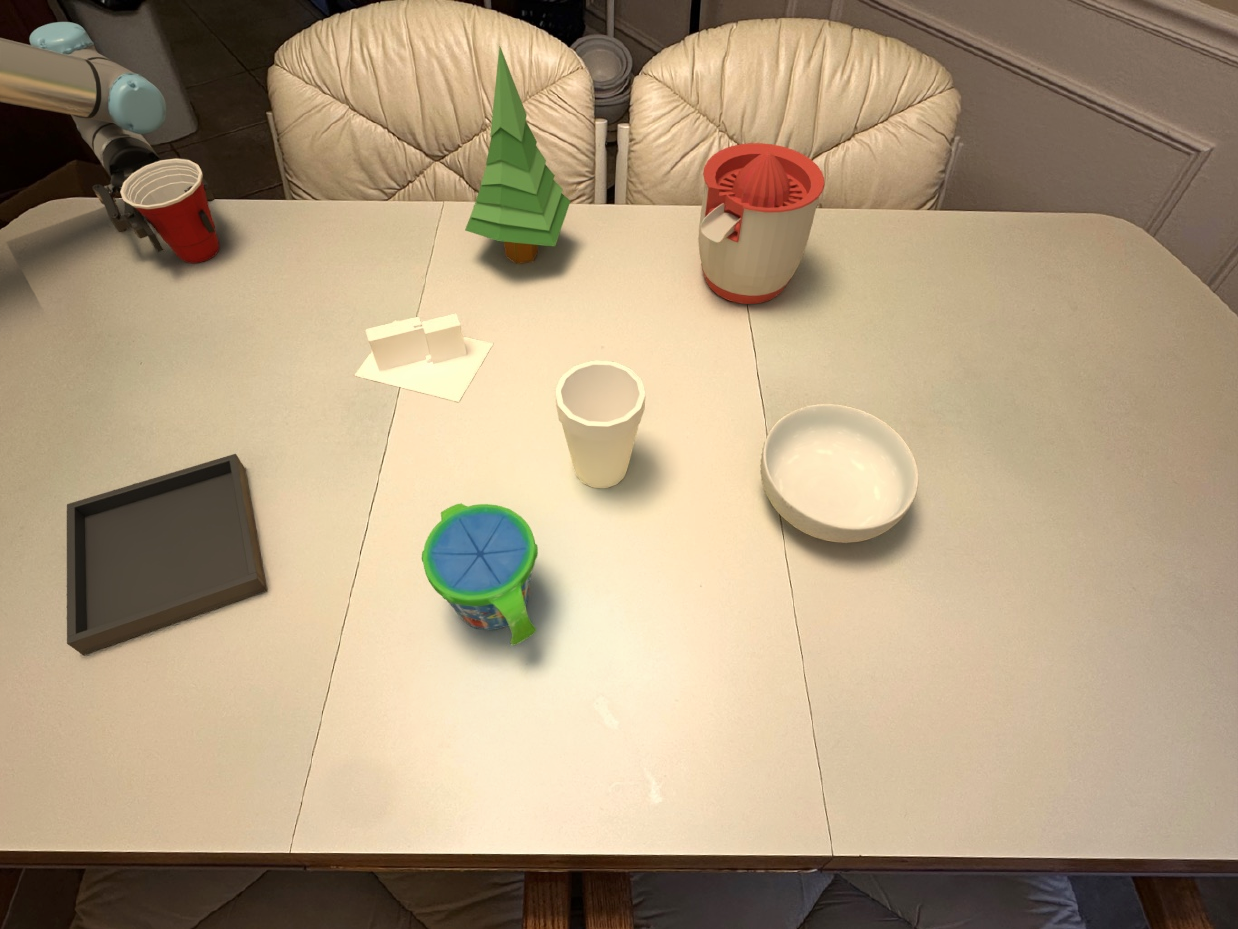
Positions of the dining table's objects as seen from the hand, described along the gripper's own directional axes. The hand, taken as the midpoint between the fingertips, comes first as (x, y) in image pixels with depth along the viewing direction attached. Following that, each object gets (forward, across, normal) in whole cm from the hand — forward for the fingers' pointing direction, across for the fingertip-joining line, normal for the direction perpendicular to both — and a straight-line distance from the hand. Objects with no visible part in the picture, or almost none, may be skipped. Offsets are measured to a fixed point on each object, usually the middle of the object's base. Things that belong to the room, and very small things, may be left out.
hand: (182, 233), depth 103 cm
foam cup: (+64, -24, -7) cm, 69 cm away
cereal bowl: (+84, -42, -7) cm, 94 cm away
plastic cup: (-5, -1, -7) cm, 8 cm away
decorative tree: (+25, -39, -7) cm, 47 cm away
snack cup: (+71, -5, -7) cm, 71 cm away
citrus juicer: (+50, -61, -7) cm, 79 cm away
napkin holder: (+36, -17, -7) cm, 40 cm away
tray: (+45, +20, -7) cm, 49 cm away
